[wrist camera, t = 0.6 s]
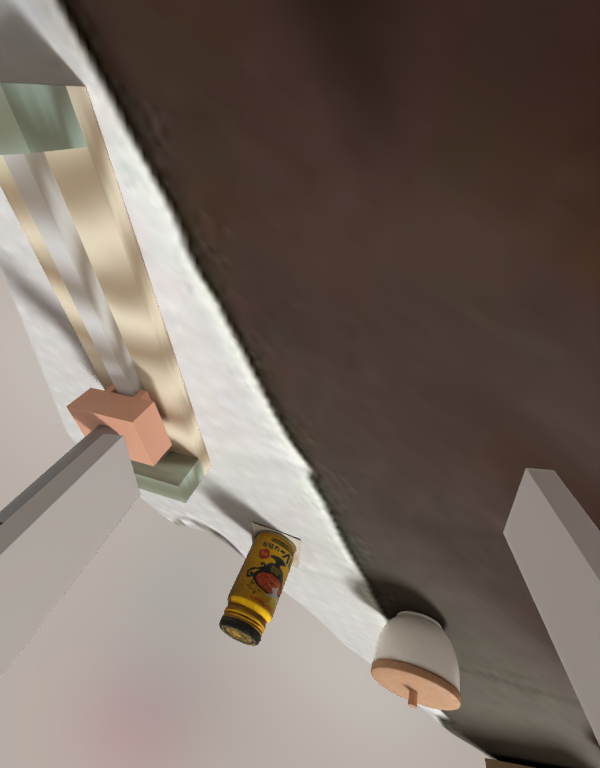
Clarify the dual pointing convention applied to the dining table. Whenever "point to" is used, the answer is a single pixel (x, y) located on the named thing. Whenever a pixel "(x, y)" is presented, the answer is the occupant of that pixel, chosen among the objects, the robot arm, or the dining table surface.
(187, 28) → the dining table surface
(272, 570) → the condiment
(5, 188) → the rail track
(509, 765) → the photo frame
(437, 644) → the lidded jar
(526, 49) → the dining table surface
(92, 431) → the carriage
